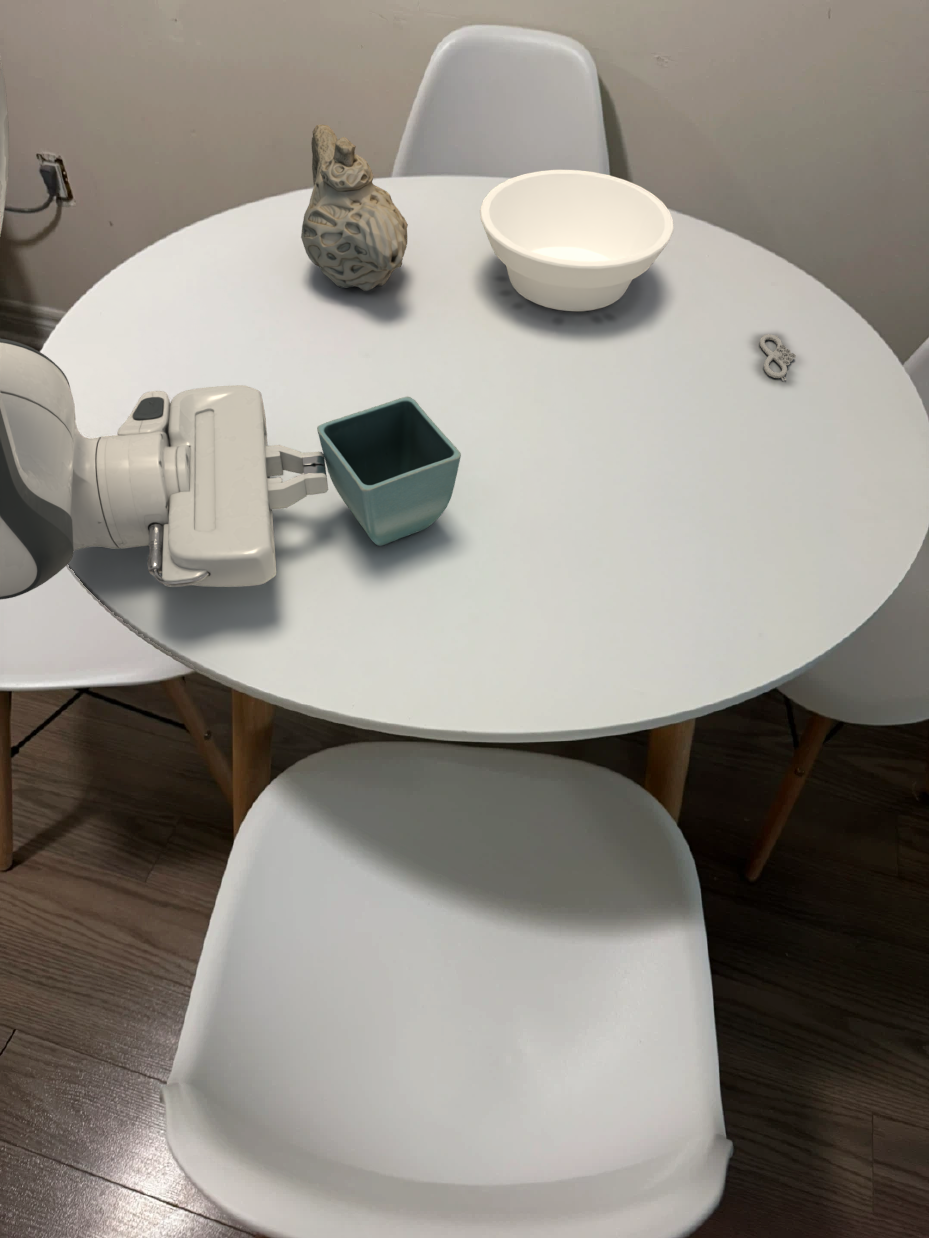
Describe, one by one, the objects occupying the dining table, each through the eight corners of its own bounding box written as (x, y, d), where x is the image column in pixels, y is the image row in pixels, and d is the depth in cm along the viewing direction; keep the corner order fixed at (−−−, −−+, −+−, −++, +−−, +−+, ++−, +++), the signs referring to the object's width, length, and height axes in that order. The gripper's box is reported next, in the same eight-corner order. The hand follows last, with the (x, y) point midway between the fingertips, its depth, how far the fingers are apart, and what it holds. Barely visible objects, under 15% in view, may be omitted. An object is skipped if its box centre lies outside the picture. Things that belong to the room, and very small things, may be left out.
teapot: (440, 311, 97) (441, 172, 85) (342, 335, 94) (329, 194, 82) (366, 221, 109) (359, 88, 97) (277, 240, 105) (258, 104, 93)
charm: (759, 330, 96) (791, 333, 95) (757, 334, 96) (790, 337, 96) (766, 374, 91) (801, 378, 91) (765, 379, 91) (799, 382, 91)
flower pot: (411, 473, 81) (410, 393, 74) (460, 533, 76) (463, 454, 69) (324, 505, 78) (314, 425, 71) (369, 570, 73) (363, 492, 66)
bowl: (451, 250, 105) (453, 181, 99) (610, 226, 110) (622, 159, 103) (516, 351, 93) (523, 280, 86) (691, 319, 98) (710, 249, 91)
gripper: (134, 558, 61) (334, 536, 63) (146, 378, 73) (312, 365, 75) (156, 615, 66) (341, 593, 68) (164, 437, 78) (319, 423, 80)
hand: (326, 471), depth 72 cm, fingers closed
